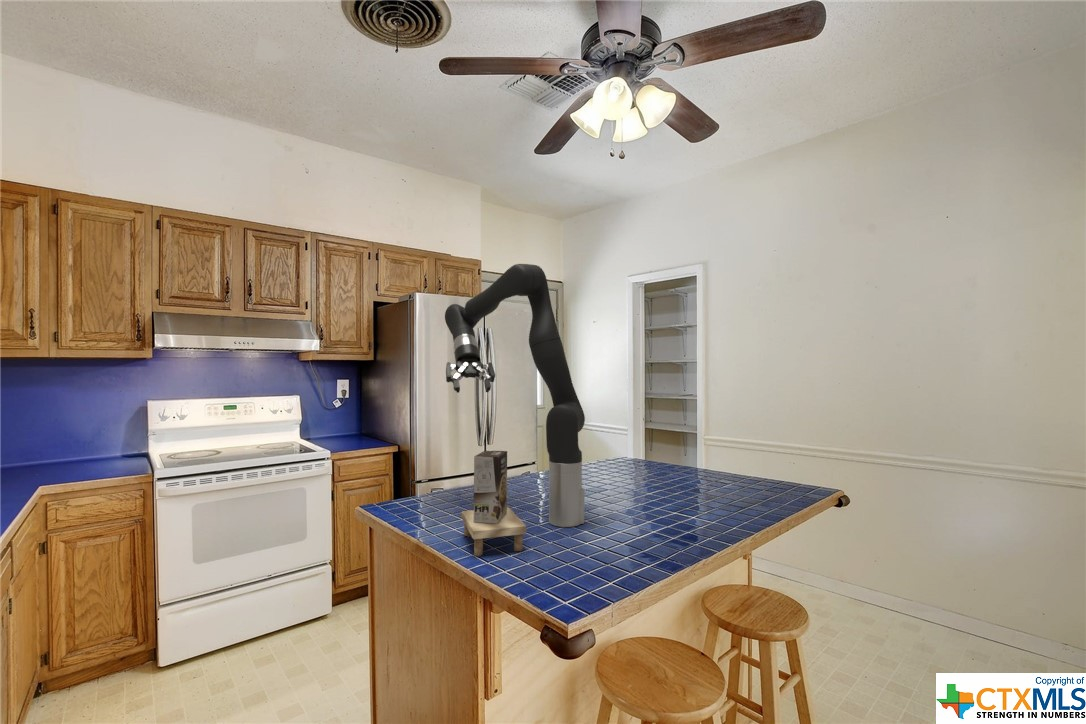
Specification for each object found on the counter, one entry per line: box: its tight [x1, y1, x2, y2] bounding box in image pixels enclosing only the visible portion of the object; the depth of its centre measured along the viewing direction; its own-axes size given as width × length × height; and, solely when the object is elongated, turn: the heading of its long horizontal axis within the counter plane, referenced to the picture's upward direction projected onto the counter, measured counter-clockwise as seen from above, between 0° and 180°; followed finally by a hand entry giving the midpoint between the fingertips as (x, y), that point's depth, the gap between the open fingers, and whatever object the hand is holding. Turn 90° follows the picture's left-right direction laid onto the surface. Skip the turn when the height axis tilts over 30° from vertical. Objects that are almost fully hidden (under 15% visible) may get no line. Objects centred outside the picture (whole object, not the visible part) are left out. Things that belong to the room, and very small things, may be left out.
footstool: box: [461, 506, 527, 557], centre depth 124 cm, size 13×17×6 cm
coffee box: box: [473, 450, 508, 524], centre depth 125 cm, size 9×6×16 cm
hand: (473, 390), depth 144 cm, fingers open, 8 cm apart
